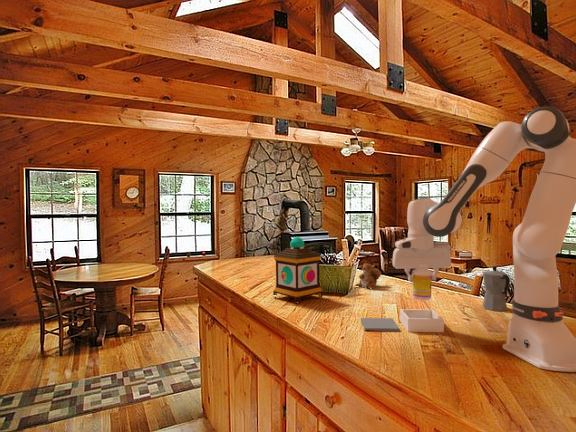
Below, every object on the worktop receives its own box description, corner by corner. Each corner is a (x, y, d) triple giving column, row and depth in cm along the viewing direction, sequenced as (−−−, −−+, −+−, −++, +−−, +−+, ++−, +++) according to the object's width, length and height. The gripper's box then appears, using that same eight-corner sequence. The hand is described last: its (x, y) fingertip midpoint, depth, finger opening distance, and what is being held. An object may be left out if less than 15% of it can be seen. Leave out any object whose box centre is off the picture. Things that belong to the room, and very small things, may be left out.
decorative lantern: (269, 297, 179) (268, 236, 178) (298, 291, 192) (298, 234, 192) (297, 305, 164) (296, 239, 164) (326, 298, 177) (326, 236, 177)
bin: (443, 332, 127) (443, 319, 127) (408, 331, 128) (408, 318, 128) (432, 321, 139) (432, 309, 139) (400, 320, 140) (399, 309, 140)
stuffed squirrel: (353, 287, 201) (353, 263, 201) (369, 283, 210) (368, 260, 210) (368, 290, 194) (368, 265, 193) (384, 286, 203) (383, 262, 203)
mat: (399, 331, 129) (399, 328, 128) (365, 330, 129) (365, 328, 129) (392, 320, 140) (392, 318, 140) (360, 320, 141) (360, 318, 141)
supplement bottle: (432, 301, 129) (433, 265, 129) (413, 300, 131) (413, 264, 130) (429, 296, 136) (430, 262, 136) (410, 295, 137) (411, 261, 137)
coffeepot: (474, 304, 162) (474, 264, 162) (494, 304, 163) (494, 263, 163) (498, 314, 147) (498, 270, 146) (520, 313, 148) (520, 269, 147)
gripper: (446, 241, 135) (448, 278, 136) (390, 242, 137) (392, 279, 137) (453, 242, 129) (454, 281, 129) (394, 244, 131) (395, 282, 131)
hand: (421, 280), depth 133 cm, fingers closed on supplement bottle, 7 cm apart
